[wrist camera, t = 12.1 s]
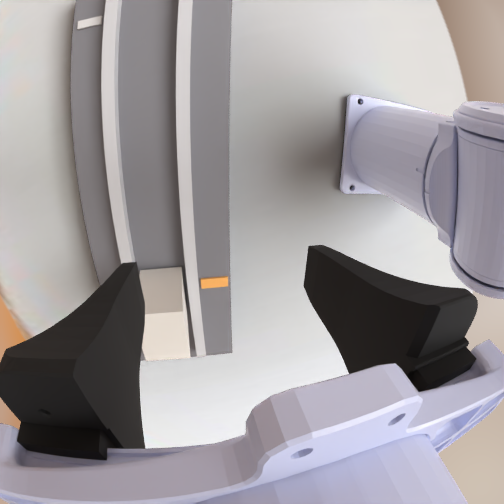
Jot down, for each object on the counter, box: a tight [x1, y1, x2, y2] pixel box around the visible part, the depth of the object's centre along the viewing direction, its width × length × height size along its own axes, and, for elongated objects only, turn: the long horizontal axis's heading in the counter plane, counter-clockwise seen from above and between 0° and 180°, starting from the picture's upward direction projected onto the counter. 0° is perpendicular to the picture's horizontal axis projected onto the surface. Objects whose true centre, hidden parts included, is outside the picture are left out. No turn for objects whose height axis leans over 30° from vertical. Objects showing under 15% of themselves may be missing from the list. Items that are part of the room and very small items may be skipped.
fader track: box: [71, 0, 232, 361], centre depth 19 cm, size 10×30×3 cm, turn 179°
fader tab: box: [139, 267, 191, 361], centre depth 19 cm, size 3×4×5 cm
